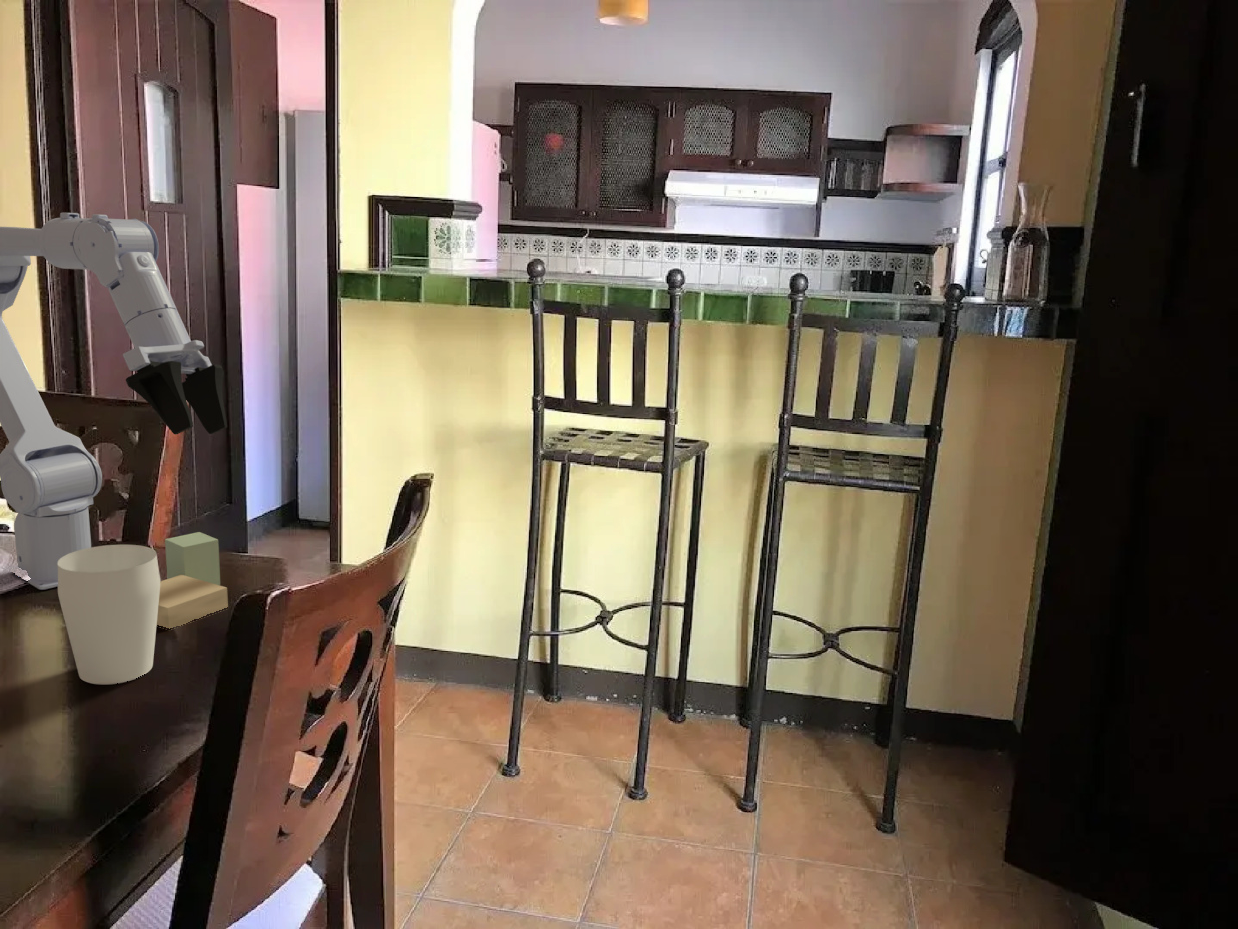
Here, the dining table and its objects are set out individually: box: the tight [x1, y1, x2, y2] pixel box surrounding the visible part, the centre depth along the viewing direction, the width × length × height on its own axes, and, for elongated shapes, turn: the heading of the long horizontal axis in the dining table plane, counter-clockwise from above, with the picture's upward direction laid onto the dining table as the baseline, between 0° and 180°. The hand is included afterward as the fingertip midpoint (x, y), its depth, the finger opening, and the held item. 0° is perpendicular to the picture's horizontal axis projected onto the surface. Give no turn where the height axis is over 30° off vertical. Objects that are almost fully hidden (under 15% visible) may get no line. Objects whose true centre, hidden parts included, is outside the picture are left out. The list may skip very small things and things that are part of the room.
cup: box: [57, 544, 161, 686], centre depth 98 cm, size 9×9×12 cm
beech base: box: [157, 575, 229, 629], centre depth 115 cm, size 8×8×3 cm
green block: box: [164, 531, 221, 586], centre depth 123 cm, size 4×4×6 cm
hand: (201, 430), depth 109 cm, fingers open, 7 cm apart
